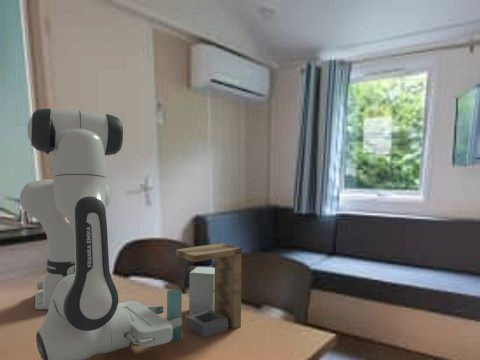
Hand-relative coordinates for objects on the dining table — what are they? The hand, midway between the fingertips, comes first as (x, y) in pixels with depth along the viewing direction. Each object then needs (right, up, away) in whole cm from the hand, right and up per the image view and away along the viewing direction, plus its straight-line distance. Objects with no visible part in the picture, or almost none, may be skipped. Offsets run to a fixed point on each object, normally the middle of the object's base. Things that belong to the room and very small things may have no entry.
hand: (171, 314), depth 96 cm
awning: (+8, -6, +7) cm, 13 cm away
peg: (+1, -7, +1) cm, 7 cm away
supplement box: (+6, -6, +19) cm, 21 cm away
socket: (+8, -6, +7) cm, 13 cm away
